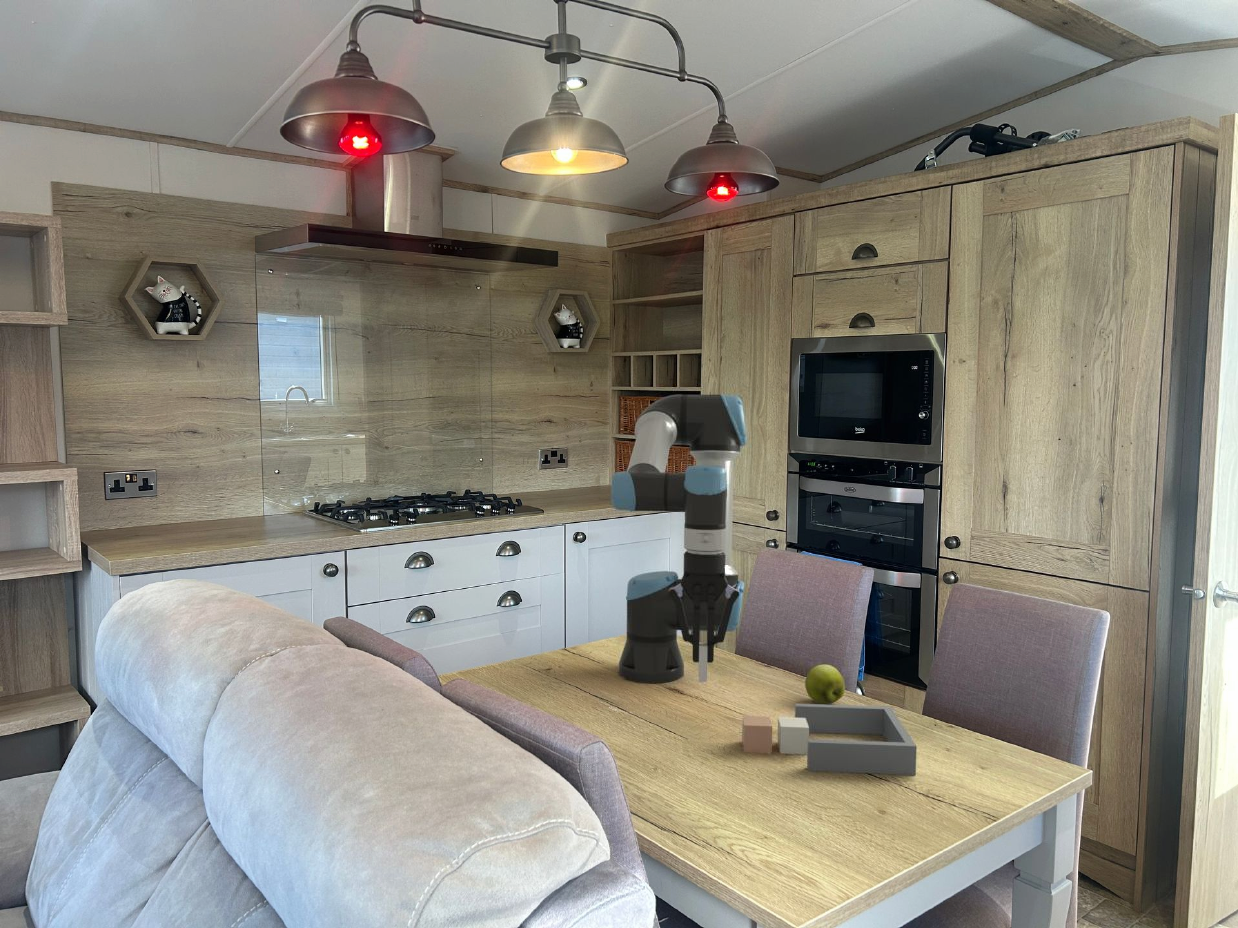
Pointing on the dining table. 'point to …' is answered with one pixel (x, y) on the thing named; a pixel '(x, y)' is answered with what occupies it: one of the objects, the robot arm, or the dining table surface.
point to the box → (858, 754)
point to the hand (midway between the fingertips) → (702, 679)
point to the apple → (825, 684)
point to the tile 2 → (793, 735)
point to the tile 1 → (757, 734)
